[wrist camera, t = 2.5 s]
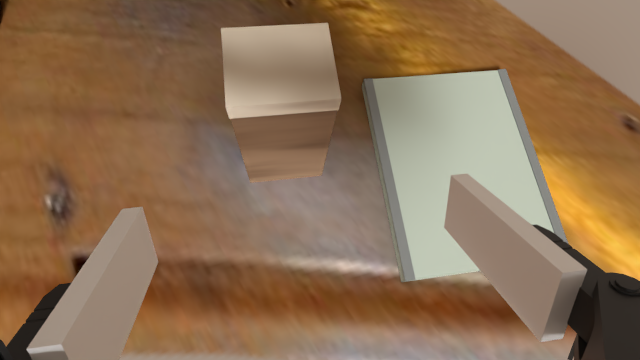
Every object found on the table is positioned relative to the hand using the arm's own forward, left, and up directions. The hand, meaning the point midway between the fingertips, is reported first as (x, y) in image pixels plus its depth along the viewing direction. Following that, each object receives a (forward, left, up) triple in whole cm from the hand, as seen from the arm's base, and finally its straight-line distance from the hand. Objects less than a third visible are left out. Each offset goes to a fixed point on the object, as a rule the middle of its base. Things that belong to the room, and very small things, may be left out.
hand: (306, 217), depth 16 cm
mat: (-6, +15, -13) cm, 21 cm away
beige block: (-9, 0, -14) cm, 16 cm away
